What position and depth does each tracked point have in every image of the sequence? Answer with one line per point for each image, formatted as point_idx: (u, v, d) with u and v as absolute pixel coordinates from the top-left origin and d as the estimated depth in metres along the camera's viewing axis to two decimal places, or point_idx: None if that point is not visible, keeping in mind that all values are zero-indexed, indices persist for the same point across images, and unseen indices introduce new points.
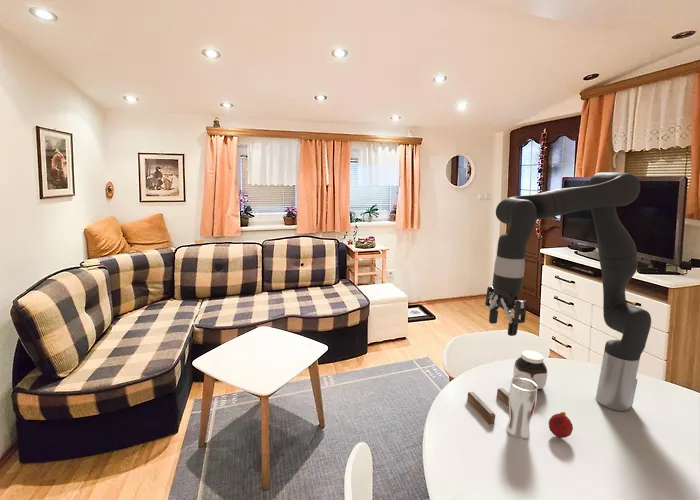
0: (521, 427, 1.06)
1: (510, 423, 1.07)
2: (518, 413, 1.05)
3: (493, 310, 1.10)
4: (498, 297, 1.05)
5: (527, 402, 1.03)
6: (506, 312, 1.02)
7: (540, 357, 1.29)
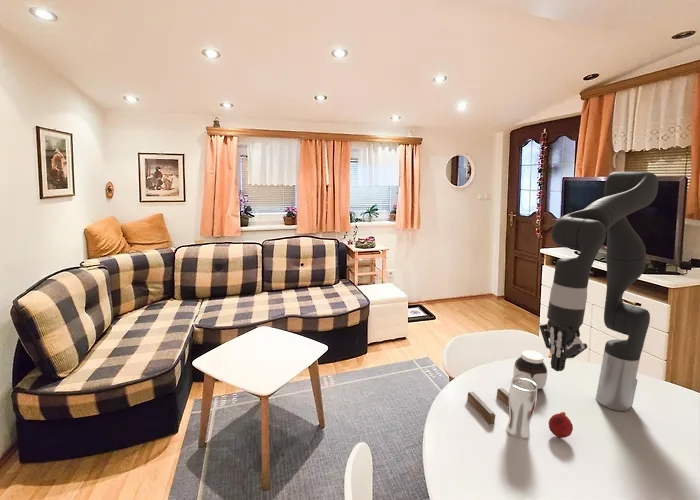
0: (521, 427, 1.06)
1: (510, 423, 1.07)
2: (518, 413, 1.05)
3: None
4: (554, 328, 0.92)
5: (527, 402, 1.03)
6: (558, 346, 0.91)
7: (540, 357, 1.29)
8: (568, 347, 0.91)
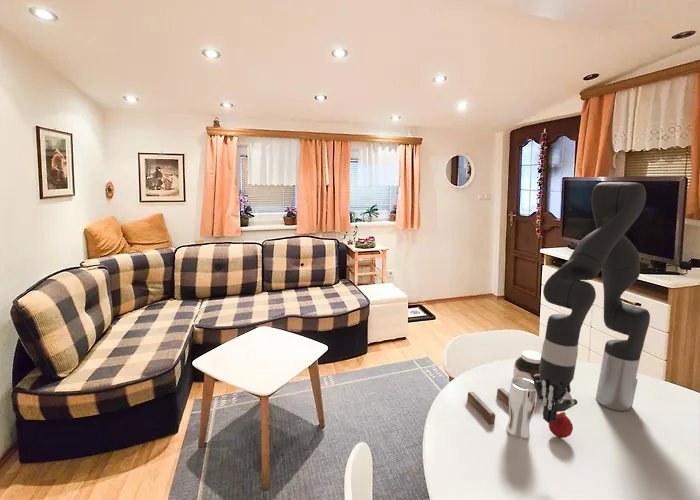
0: (521, 427, 1.06)
1: (510, 423, 1.07)
2: (518, 413, 1.05)
3: None
4: (546, 381, 0.95)
5: (527, 402, 1.03)
6: (549, 399, 0.94)
7: (540, 357, 1.29)
8: (559, 400, 0.94)
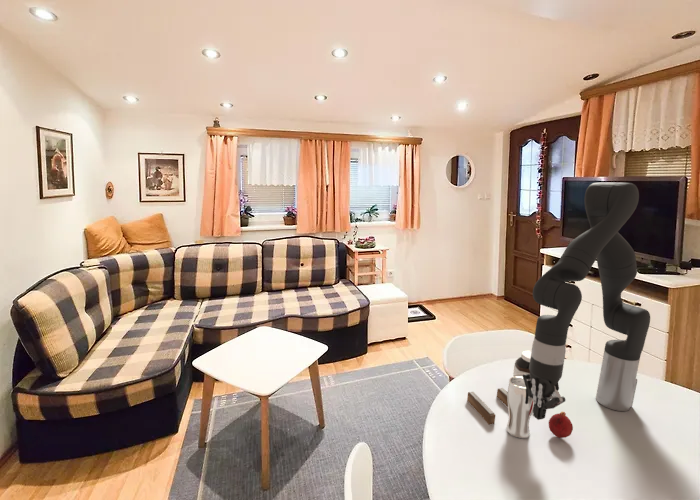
0: (520, 426, 1.06)
1: (510, 422, 1.08)
2: (517, 411, 1.05)
3: None
4: (535, 380, 0.99)
5: (525, 400, 1.03)
6: (538, 397, 0.98)
7: None
8: (548, 398, 0.98)
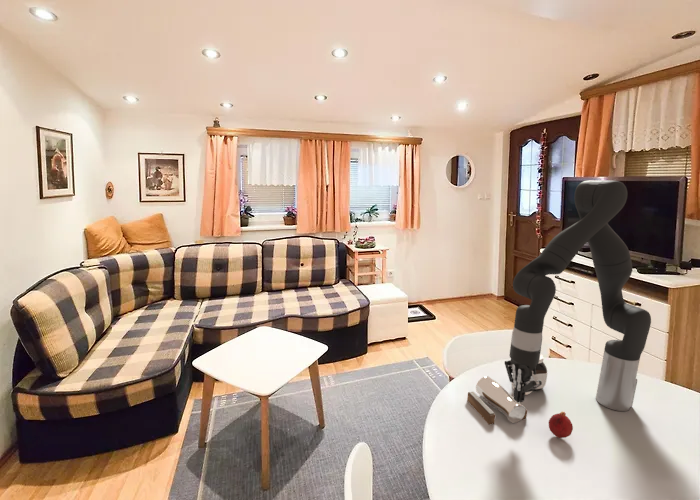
0: (513, 400, 1.15)
1: (506, 402, 1.14)
2: (501, 390, 1.18)
3: None
4: (515, 365, 1.06)
5: None
6: (518, 381, 1.05)
7: (540, 357, 1.29)
8: (527, 382, 1.05)
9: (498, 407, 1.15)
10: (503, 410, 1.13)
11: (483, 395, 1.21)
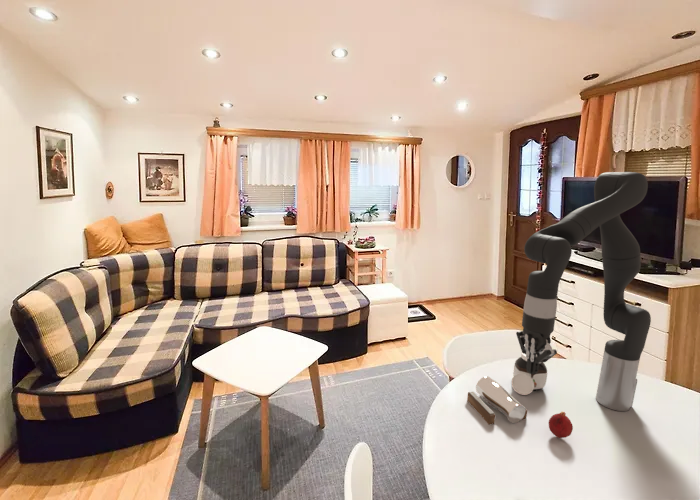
0: (513, 400, 1.15)
1: (506, 402, 1.14)
2: (501, 390, 1.18)
3: None
4: (528, 335, 1.01)
5: None
6: (531, 351, 1.00)
7: None
8: (541, 352, 1.00)
9: (498, 407, 1.15)
10: (503, 410, 1.13)
11: (483, 395, 1.21)
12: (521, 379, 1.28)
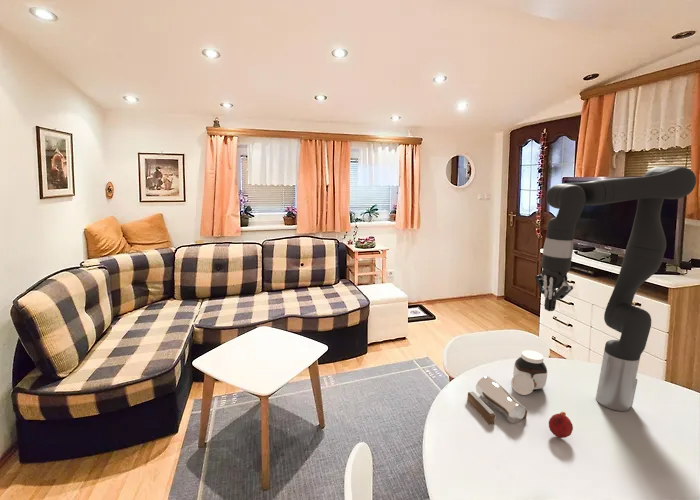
0: (513, 400, 1.15)
1: (506, 402, 1.14)
2: (501, 390, 1.18)
3: None
4: (546, 275, 1.13)
5: None
6: (549, 290, 1.12)
7: (540, 357, 1.29)
8: (558, 290, 1.12)
9: (498, 407, 1.15)
10: (503, 410, 1.13)
11: (483, 395, 1.21)
12: (521, 379, 1.28)
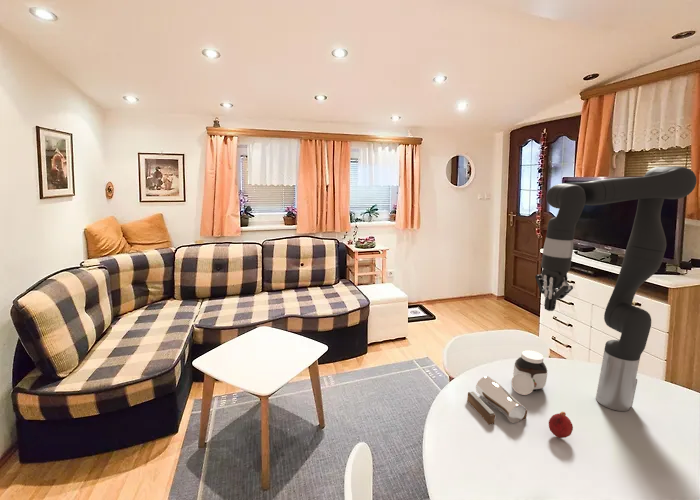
0: (513, 400, 1.15)
1: (506, 402, 1.14)
2: (501, 390, 1.18)
3: None
4: (546, 275, 1.13)
5: None
6: (549, 289, 1.12)
7: (540, 357, 1.29)
8: (558, 290, 1.12)
9: (498, 407, 1.15)
10: (503, 410, 1.13)
11: (483, 395, 1.21)
12: (521, 379, 1.28)
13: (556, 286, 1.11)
